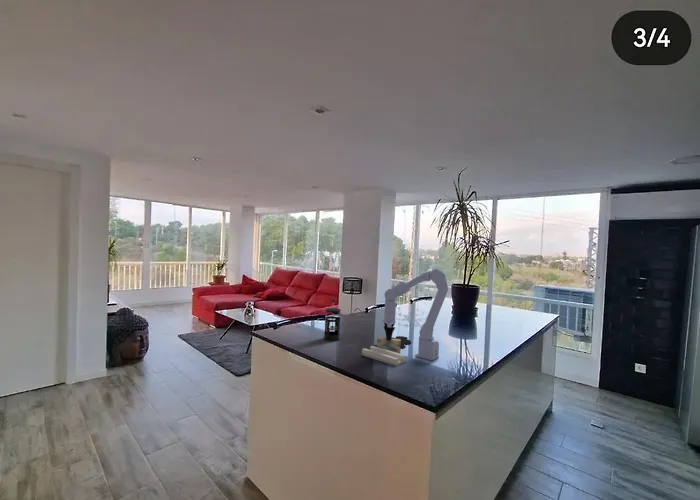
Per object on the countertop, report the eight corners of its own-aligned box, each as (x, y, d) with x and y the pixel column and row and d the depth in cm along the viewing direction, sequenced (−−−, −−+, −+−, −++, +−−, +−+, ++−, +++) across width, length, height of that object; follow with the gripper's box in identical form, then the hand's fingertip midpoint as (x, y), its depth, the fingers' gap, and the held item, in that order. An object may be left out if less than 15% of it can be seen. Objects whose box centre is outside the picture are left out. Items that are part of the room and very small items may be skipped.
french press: (333, 342, 179) (335, 300, 179) (319, 339, 184) (321, 298, 184) (344, 337, 190) (346, 298, 190) (330, 335, 194) (332, 296, 194)
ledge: (406, 361, 153) (406, 355, 153) (396, 366, 147) (396, 359, 147) (372, 351, 166) (372, 345, 166) (361, 355, 160) (362, 349, 160)
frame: (400, 351, 169) (400, 339, 169) (400, 353, 166) (400, 340, 166) (376, 349, 170) (377, 337, 170) (376, 351, 167) (377, 339, 167)
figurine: (395, 353, 166) (418, 341, 191) (395, 351, 166) (418, 339, 191) (369, 346, 175) (394, 336, 200) (369, 345, 175) (394, 334, 200)
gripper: (382, 309, 176) (381, 334, 176) (381, 314, 161) (380, 341, 161) (395, 309, 175) (394, 335, 175) (396, 315, 160) (394, 342, 160)
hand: (388, 338), depth 168 cm, fingers open, 7 cm apart
